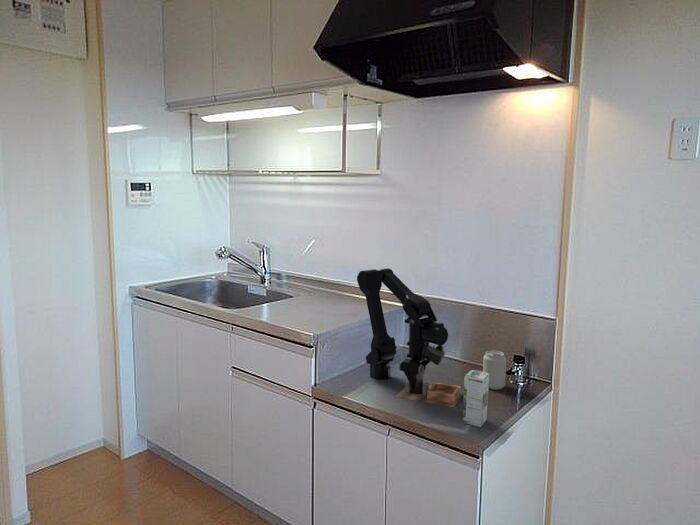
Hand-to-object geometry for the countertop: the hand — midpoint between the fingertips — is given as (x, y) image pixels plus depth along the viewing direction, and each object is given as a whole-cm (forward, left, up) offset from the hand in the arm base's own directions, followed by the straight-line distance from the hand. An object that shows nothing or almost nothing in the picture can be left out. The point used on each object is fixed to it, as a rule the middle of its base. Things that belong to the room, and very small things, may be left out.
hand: (417, 384), depth 170 cm
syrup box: (+21, -12, -4) cm, 25 cm away
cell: (0, 0, -2) cm, 2 cm away
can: (+21, +18, -4) cm, 28 cm away
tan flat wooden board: (+4, 0, -4) cm, 6 cm away
